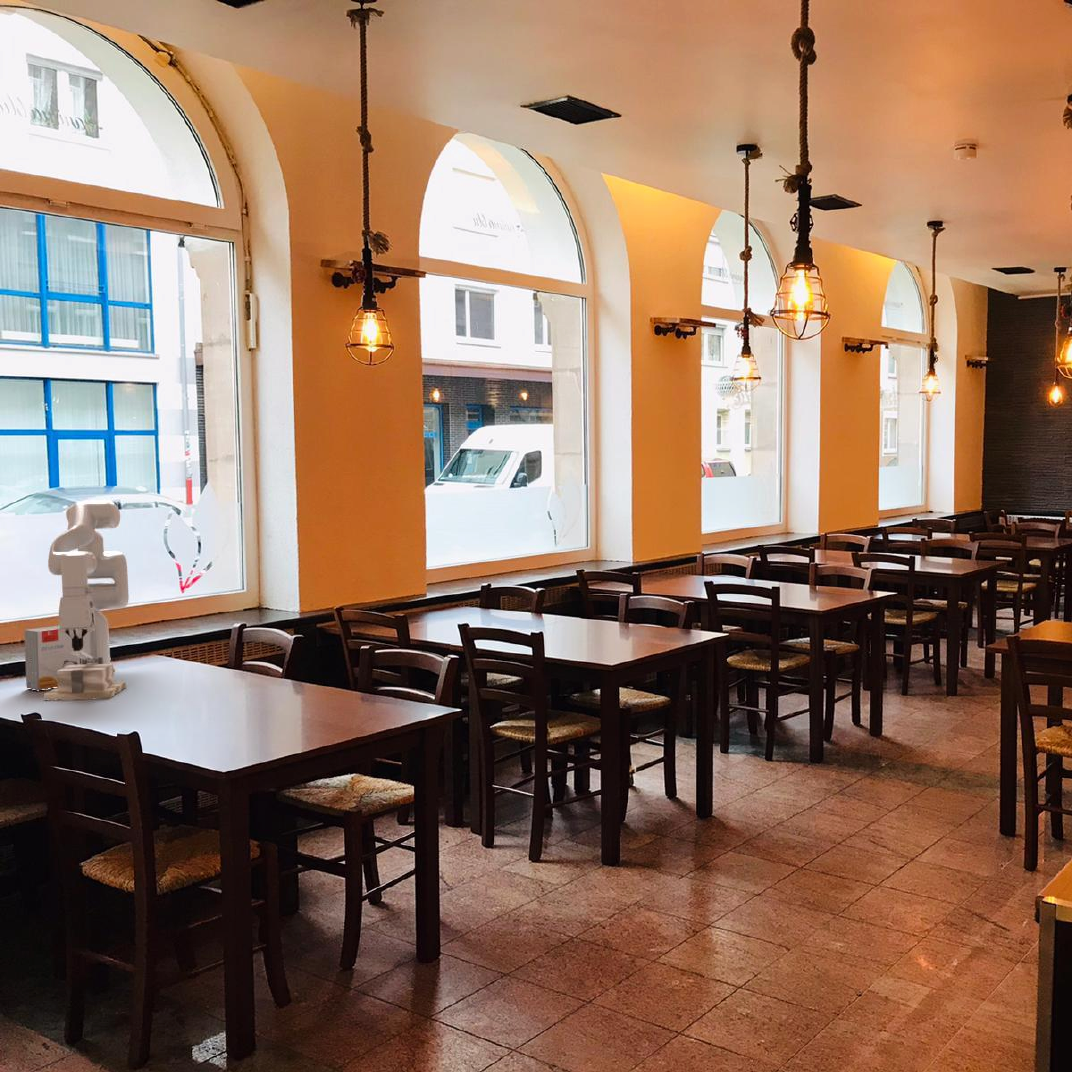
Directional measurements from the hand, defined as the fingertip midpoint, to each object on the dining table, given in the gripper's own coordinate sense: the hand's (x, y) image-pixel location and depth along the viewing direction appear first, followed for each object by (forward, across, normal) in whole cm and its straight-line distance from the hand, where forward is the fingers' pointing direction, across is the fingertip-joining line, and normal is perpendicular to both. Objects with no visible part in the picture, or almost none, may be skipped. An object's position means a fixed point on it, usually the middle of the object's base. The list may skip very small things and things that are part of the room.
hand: (77, 650), depth 357 cm
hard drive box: (+15, +15, -19) cm, 28 cm away
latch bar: (+4, 0, -6) cm, 7 cm away
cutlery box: (+15, 0, -6) cm, 16 cm away
